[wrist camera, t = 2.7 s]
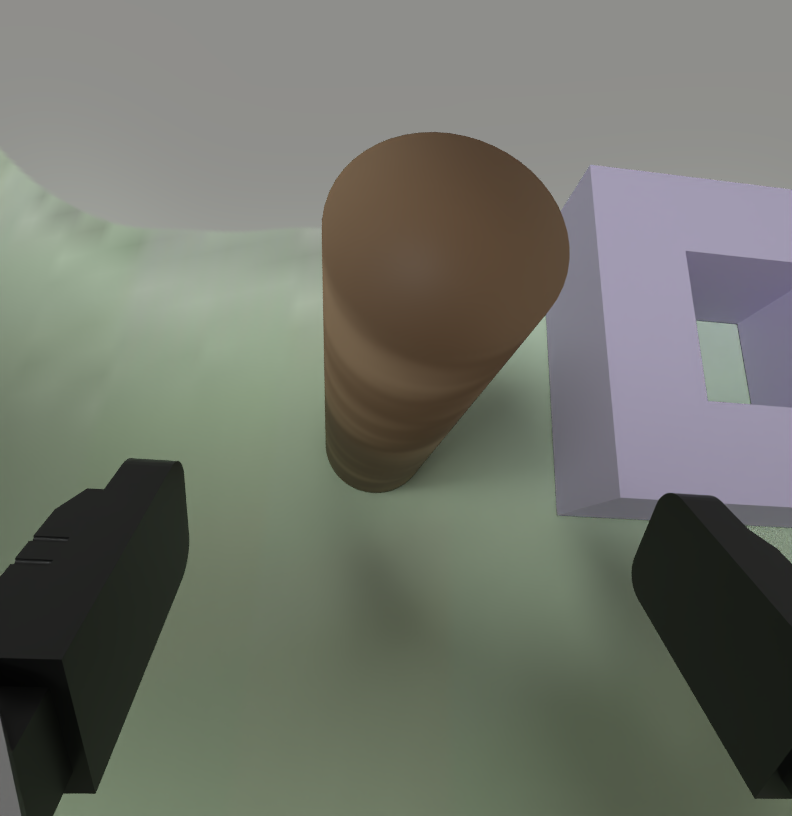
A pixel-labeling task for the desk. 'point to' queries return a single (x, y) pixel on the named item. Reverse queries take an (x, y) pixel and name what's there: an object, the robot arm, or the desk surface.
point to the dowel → (427, 293)
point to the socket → (671, 346)
